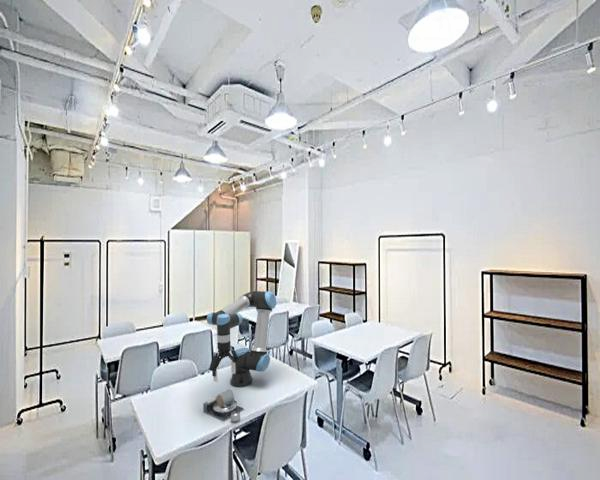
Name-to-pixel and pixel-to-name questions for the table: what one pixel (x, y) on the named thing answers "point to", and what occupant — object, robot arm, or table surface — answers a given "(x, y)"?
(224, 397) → the ceramic mug
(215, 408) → the pan
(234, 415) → the steel spacer
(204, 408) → the scale base
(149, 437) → the table surface
